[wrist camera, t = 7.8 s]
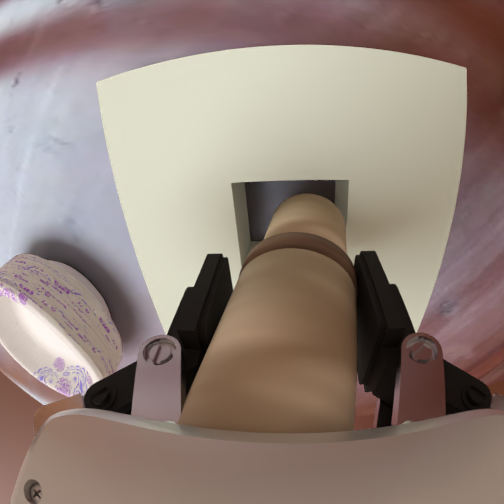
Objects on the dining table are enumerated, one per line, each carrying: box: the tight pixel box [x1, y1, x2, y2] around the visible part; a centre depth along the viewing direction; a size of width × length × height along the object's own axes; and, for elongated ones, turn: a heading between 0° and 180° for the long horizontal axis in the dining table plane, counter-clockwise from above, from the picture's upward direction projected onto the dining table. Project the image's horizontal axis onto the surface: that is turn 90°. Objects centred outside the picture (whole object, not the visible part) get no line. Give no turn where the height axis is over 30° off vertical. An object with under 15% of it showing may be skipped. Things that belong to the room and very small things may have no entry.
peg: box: [177, 193, 358, 433], centre depth 9 cm, size 4×4×12 cm
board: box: [96, 45, 467, 335], centre depth 16 cm, size 18×18×4 cm
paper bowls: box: [0, 254, 123, 397], centre depth 22 cm, size 15×15×8 cm
